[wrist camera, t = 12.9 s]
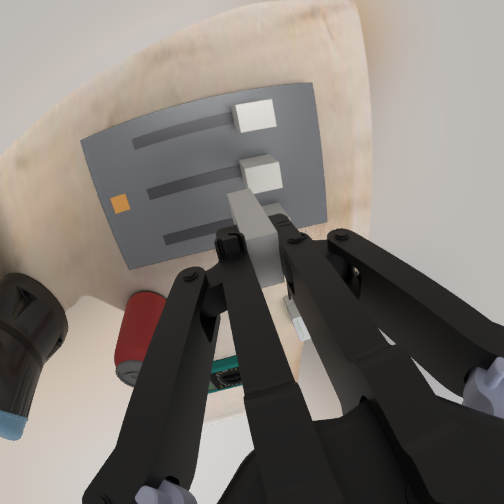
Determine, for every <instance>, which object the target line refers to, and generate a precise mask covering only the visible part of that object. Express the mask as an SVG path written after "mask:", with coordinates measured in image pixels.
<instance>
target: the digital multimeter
mask: <svg viewBox="0 0 504 504" xmlns="http://www.w3.org/2000/svg"><path fill="white" fill-rule="evenodd" d="M222 380H223V381H222ZM241 385H243V384H242V380H241V375H240V370H239V365H238V360H237V355H235V356H232V357H229V358H225V359H221V360H217V361H213V365H212V371H211V377H210V382H209V389H208V393H213V392H217V391H221V390H225V389H229V388H233V387H237V386H241Z"/></svg>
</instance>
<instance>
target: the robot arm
mask: <svg viewBox="0 0 504 504" xmlns="http://www.w3.org/2000/svg"><path fill="white" fill-rule="evenodd" d="M227 196H228V200H229V205H230V209H231V213H232V218H233V222H234V225H233V226H229V227H225V228H221V229H218V231H217V233H216V239H215V241H214V245H215V248H216V252H217V255H218V259H219V262H218V263H217V264H216V265H215V266H214V267H213V268H211V269H209V270H207V271H205V270H204V269H203V268H201V267H190V268H186V269H184V270H183V271H181V272H180V273H179V274H178V275H177V277H176V279H175V281H174V284H173V286H172V288H171V291H170V293H169V296H168V298H167V300H166V303H165V305H164V308H163V310H162V313H161V315H160V318H159V321H158V323H157V326H156V328H155V331H154V333H153V336H152V339H151V341H150V344H149V347H148V349H147V352H146V355H145V358H144V360H143V363H142V366H141V369H140V372H139V375H138V377H137V380H136V383H135V386H134V389H133V392H132V395H131V398H130V401H129V404H128V408H127V411H126V414H125V417H124V421H123V424H122V427H121V430H120V434H119V437H118V441H117V444H116V447H115V449H114V450H113V452H112V453H111V455H110V456H109V458H108V459H107V460H106V462H105V463H104V465H103V466H102V468H101V469H100V470H99V472H98V473H97V475H96V476H95V478H94V479H93V480H92V482H91V483H90V485H89V486H88V488H87V489H86V491H85V492H84V495H83V497H82V504H197V501H196V499H195V497H194V496H193V495H192V494H191V493H190V492H189V489H190V486H191V483H192V481H193V478H194V474H195V469H196V465H197V458H198V452H199V445H200V439H201V432H202V426H203V419H204V413H205V407H206V401H207V395H208V389H209V382H210V377H211V371H212V365H213V359H214V353H215V347H216V342H217V336H218V330H219V325H220V319H221V317H220V314H221V313H223V312H225V311H227V310H228V314H229V320H230V325H231V330H232V335H233V340H234V346H235V351H236V355H237V360H238V365H239V370H240V375H241V380H242V384H243V389H244V395H245V396H244V404H245V409H246V414H247V418H248V423H249V427H250V432H251V436H252V440H253V445H254V450H253V451H251V453H249V455H248V456H246V458H245V459H244V460H243V461H242V463H241V464H240V466H239V468H238V469H237V471H236V473H235V474H234V476H233V478H232V480H231V481H230V483H229V485H228V486H227V488H226V490H225V491H224V493H223V495H222V497H221V498H220V499H219V501H218V503H217V504H504V326H502V325H499V324H497V323H494V322H492V321H490V320H489V319H488V318H486V317H485V316H484V315H482V314H481V313H480V312H478V311H477V310H476V309H474V308H473V307H471V306H470V305H469V304H467V303H466V302H464V301H463V300H462V299H460V298H459V297H457V296H456V295H454V294H453V293H451V292H450V291H448V290H447V289H446V288H444V287H443V286H441V285H439V284H438V283H437V282H435V281H433V280H432V279H430V278H429V277H427V276H426V275H424V274H423V273H421V272H420V271H418V270H416V269H415V268H413V267H411V266H410V265H408V264H407V263H405V262H404V261H402V260H400V259H399V258H397V257H395V256H394V255H392V254H391V253H389V252H387V251H386V250H384V249H382V248H380V247H379V246H377V245H375V244H374V243H372V242H370V241H369V240H367V239H365V238H363V237H362V236H360V235H358V234H356V233H355V232H353V231H350V230H348V229H336V230H332V231H331V232H329V233H328V235H327V240H312V239H311V238H310V237H309V236H308V235H307V234H305V233H302V232H299V231H298V230H297V228H296V227H295V226H294V225H293V224H292V222H291V221H290V219H289V218H288V217H287V216H286V215H284V214H281V213H279V214H275V215H271V216H267V215H266V213H265V211H264V210H263V208H262V207H261V205H260V204H259V202H258V200H257V199H256V197H255V196H254V194H253V192H252V191H251V189H250V188H249V189H244V190H240V191H236V192H232V193H228V194H227ZM355 268H356V269H357V270H358V271H359V274H358V273H356V272H355ZM284 276H285V278H286V281H287V289H288V297H289V300H291V297H292V299H293V301H294V303H295V305H296V307H297V309H298V311H299V313H300V316H301V318H302V320H303V322H304V324H305V326H306V328H307V331H308V333H309V335H310V337H311V339H312V341H313V343H314V346H315V348H316V350H317V352H318V354H319V356H320V359H321V361H322V363H323V365H324V367H325V369H326V372H327V374H328V376H329V378H330V380H331V382H332V385H333V387H334V389H335V391H336V394H337V396H338V398H339V400H340V403H341V406H342V412H343V416H342V417H340V418H334V419H327V420H317V421H312V419H311V416H310V413H309V410H308V408H307V405H306V402H305V400H304V397H303V394H302V392H301V389H300V387H299V385H298V383H297V382H295V380H294V377H293V375H292V372H291V369H290V367H289V364H288V361H287V358H286V356H285V353H284V350H283V347H282V345H281V342H280V339H279V336H278V334H277V331H276V328H275V325H274V323H273V320H272V317H271V314H270V312H269V309H268V306H267V303H266V301H265V298H264V295H263V292H262V289H261V288H264V287H268V286H271V285H275V284H279V283H282V282H285V281H284ZM377 327H378V328H379V329H380V330H381V331H382V332H383V333H385V334H386V335H387V336H388V337H389V338H390V339H391V340H392V341H394V342H395V343H396V345H390V344H389V343H388V342H387V341H386V339H385V338H384V336H383V335H382V333H381V332H380V331H379V329H378V328H377ZM67 332H68V322H67V318H66V315H65V313H64V311H63V309H62V307H61V306H60V304H59V303H58V301H57V300H56V299H55V297H54V296H53V295H52V294H51V293H50V292H49V291H48V290H47V289H46V288H45V287H44V286H42V285H41V284H40V283H38V282H37V281H35V280H34V279H32V278H30V277H28V276H25V275H22V274H16V273H13V274H8V275H6V276H5V277H3V279H2V280H1V281H0V437H3V438H5V439H8V440H13V441H14V440H18V439H20V438H21V436H22V434H23V430H24V427H25V424H26V422H27V421H28V415H29V411H30V407H31V403H32V400H33V396H34V393H35V389H36V386H37V383H38V380H39V377H40V374H41V371H42V368H43V366H44V364H45V363H46V362H47V361H48V360H49V358H50V357H51V356H52V355H53V354H54V353H55V352H56V351H57V350H58V349H59V348H60V347H61V346H62V344H63V342H64V340H65V337H66V335H67ZM411 357H412V358H413V359H414V360H415V361H416V362H417V363H418V364H419V365H420V366H422V367H423V368H424V369H425V370H426V371H427V372H428V373H429V374H430V375H431V376H433V377H434V378H435V379H436V380H437V381H438V382H439V383H441V384H442V385H443V386H444V387H445V388H447V389H448V390H450V391H451V392H453V393H454V394H456V395H458V396H460V397H462V398H463V399H464V401H463V402H462V405H461V404H458V403H456V402H453V401H450V400H447V399H445V398H442V397H439V396H437V395H435V393H434V392H433V390H432V389H431V387H430V386H429V384H428V382H427V381H426V379H425V378H424V376H423V375H422V373H421V372H420V371H419V369H418V368H417V366H416V364H415V363H414V362H413V360H412V359H411Z"/></svg>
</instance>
